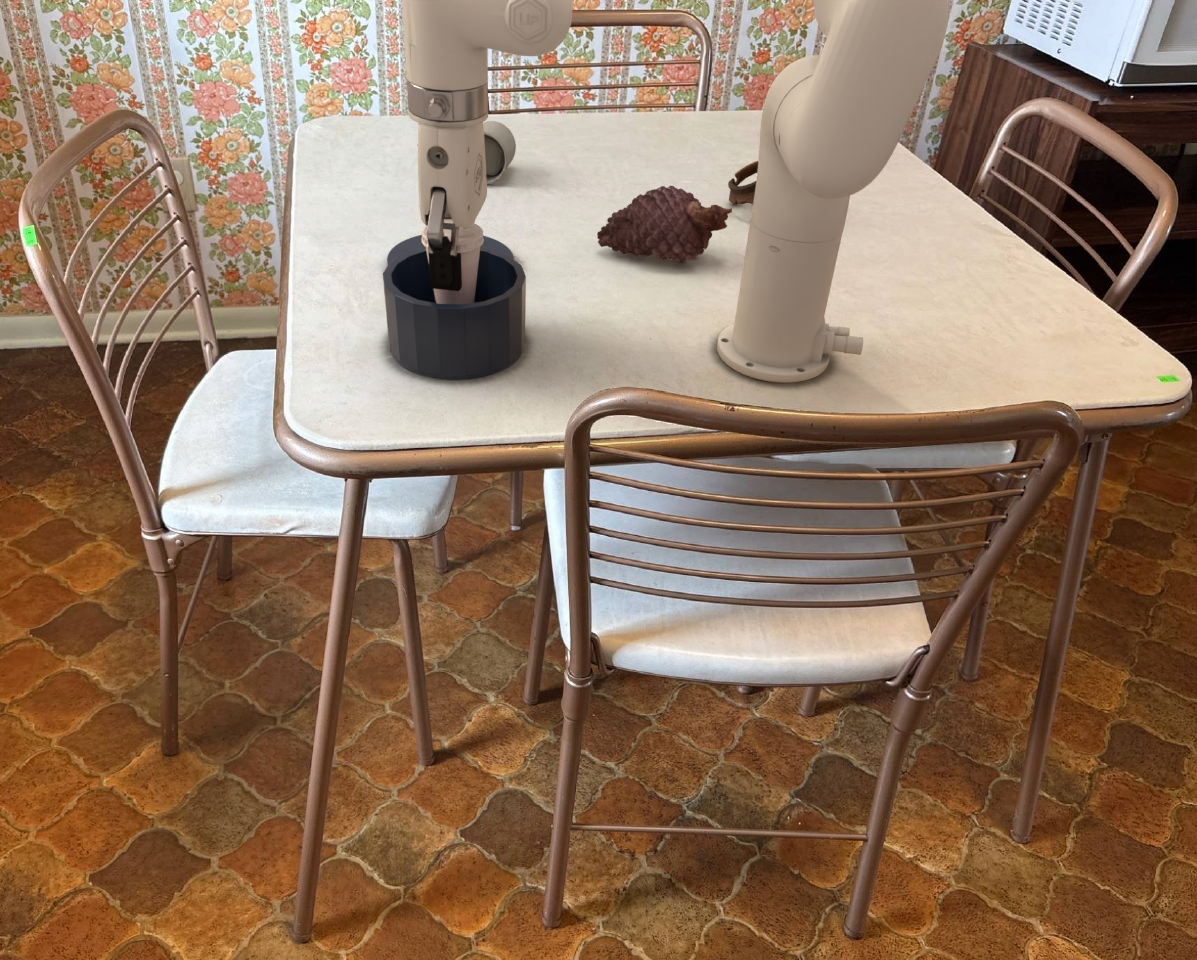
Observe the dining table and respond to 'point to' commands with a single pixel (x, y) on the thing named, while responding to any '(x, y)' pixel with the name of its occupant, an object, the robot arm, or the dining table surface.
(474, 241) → the smoothie
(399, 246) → the pot lid
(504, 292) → the pot
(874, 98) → the robot arm
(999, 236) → the dining table surface
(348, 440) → the dining table surface
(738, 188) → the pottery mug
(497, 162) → the ceramic mug
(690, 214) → the pine cone
